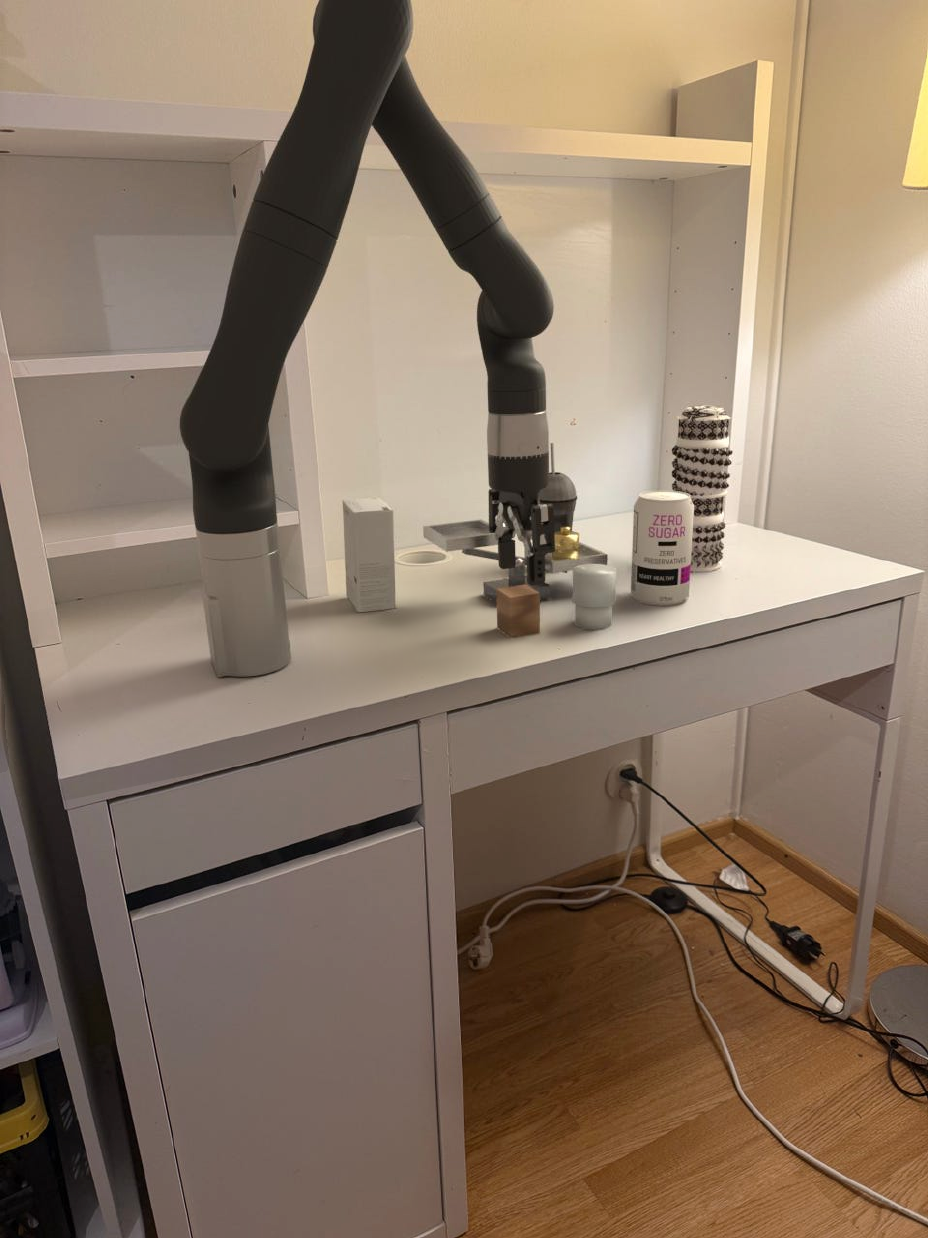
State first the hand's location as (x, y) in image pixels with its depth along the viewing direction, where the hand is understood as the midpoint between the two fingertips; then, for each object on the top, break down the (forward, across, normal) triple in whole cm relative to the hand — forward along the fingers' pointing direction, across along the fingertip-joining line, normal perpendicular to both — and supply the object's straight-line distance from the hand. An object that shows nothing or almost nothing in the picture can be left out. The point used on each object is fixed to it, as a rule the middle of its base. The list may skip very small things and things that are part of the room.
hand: (521, 575), depth 113 cm
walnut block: (+8, 0, 0) cm, 8 cm away
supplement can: (+8, +3, -24) cm, 25 cm away
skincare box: (+7, +20, +14) cm, 26 cm away
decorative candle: (+8, +15, -38) cm, 42 cm away
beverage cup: (+8, +24, -17) cm, 31 cm away
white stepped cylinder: (+8, -2, -10) cm, 12 cm away
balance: (+8, +13, -6) cm, 16 cm away
